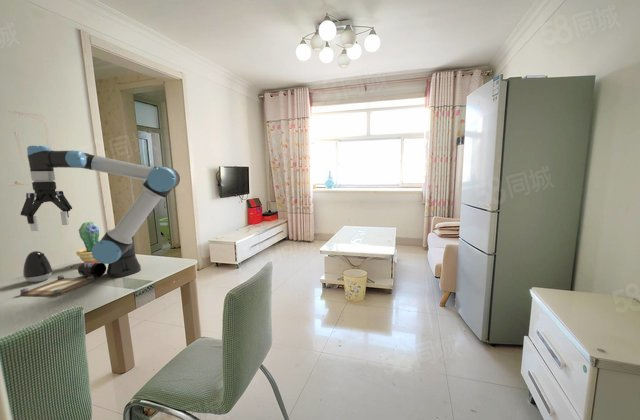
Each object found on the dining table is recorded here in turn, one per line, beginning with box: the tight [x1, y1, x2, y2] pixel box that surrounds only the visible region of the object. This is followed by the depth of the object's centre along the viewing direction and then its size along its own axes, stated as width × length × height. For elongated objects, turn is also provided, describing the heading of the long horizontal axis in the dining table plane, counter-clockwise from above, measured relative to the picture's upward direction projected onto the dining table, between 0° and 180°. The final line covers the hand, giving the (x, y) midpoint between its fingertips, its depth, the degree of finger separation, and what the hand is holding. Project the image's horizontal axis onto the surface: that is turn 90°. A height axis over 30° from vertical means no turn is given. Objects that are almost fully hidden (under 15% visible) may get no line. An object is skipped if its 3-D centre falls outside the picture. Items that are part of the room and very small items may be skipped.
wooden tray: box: [19, 274, 95, 297], centre depth 130 cm, size 18×18×2 cm
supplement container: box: [77, 262, 107, 277], centre depth 144 cm, size 7×7×10 cm
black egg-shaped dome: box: [22, 250, 53, 283], centre depth 139 cm, size 10×10×15 cm
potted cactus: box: [75, 221, 101, 263], centre depth 165 cm, size 15×15×25 cm
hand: (50, 227), depth 127 cm, fingers open, 13 cm apart
